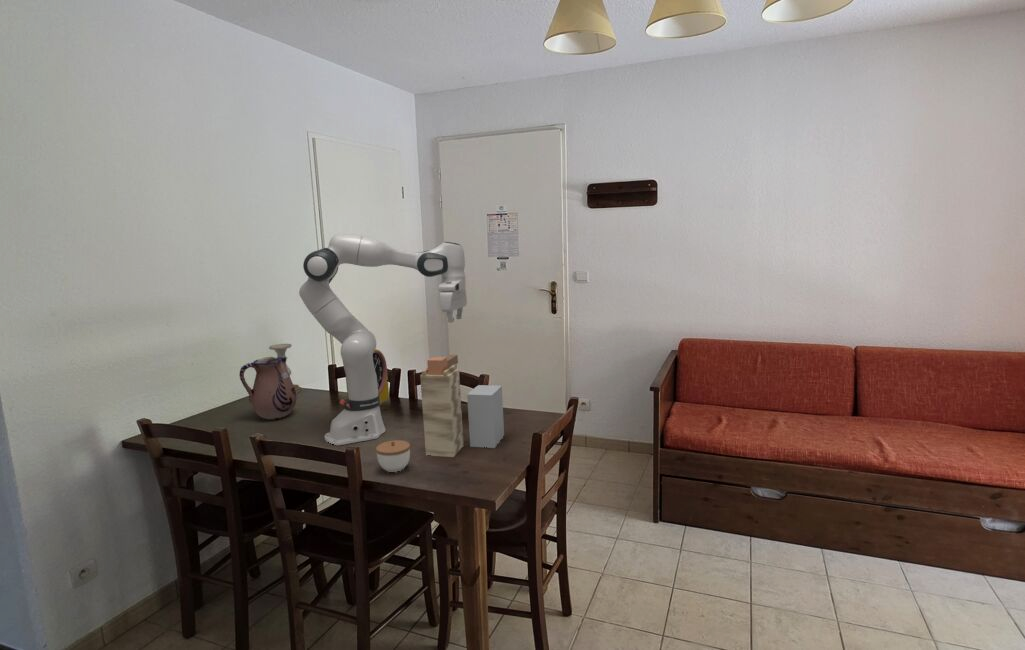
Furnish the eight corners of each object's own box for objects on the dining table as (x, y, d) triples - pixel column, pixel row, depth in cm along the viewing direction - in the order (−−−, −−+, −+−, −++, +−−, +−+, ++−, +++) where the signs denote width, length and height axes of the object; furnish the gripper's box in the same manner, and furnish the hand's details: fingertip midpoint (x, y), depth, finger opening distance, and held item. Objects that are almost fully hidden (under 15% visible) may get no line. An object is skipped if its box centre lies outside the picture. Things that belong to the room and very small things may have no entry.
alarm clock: (367, 412, 253) (361, 351, 249) (348, 411, 256) (342, 351, 251) (390, 398, 273) (385, 342, 269) (372, 397, 276) (367, 341, 271)
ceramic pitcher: (306, 414, 254) (300, 357, 250) (258, 428, 238) (251, 367, 234) (284, 407, 265) (278, 353, 261) (238, 420, 249) (230, 362, 245)
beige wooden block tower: (437, 444, 211) (431, 364, 207) (463, 446, 209) (458, 364, 204) (425, 455, 202) (419, 371, 197) (453, 457, 199) (448, 371, 194)
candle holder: (301, 390, 293) (296, 343, 289) (289, 397, 282) (284, 348, 279) (281, 390, 295) (276, 343, 291) (268, 396, 285) (263, 348, 281)
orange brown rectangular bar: (447, 362, 214) (446, 349, 213) (460, 363, 213) (459, 349, 212) (428, 374, 198) (427, 360, 197) (442, 375, 196) (441, 360, 195)
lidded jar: (380, 463, 197) (378, 436, 195) (412, 461, 198) (410, 434, 196) (375, 477, 186) (373, 448, 185) (410, 474, 187) (408, 446, 185)
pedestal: (480, 434, 220) (478, 385, 216) (504, 436, 217) (501, 385, 214) (470, 446, 208) (467, 394, 205) (494, 448, 206) (492, 395, 203)
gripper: (455, 282, 237) (456, 317, 239) (436, 287, 217) (438, 324, 219) (470, 282, 236) (471, 317, 238) (453, 287, 216) (454, 324, 218)
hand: (455, 320), depth 228 cm, fingers open, 8 cm apart
